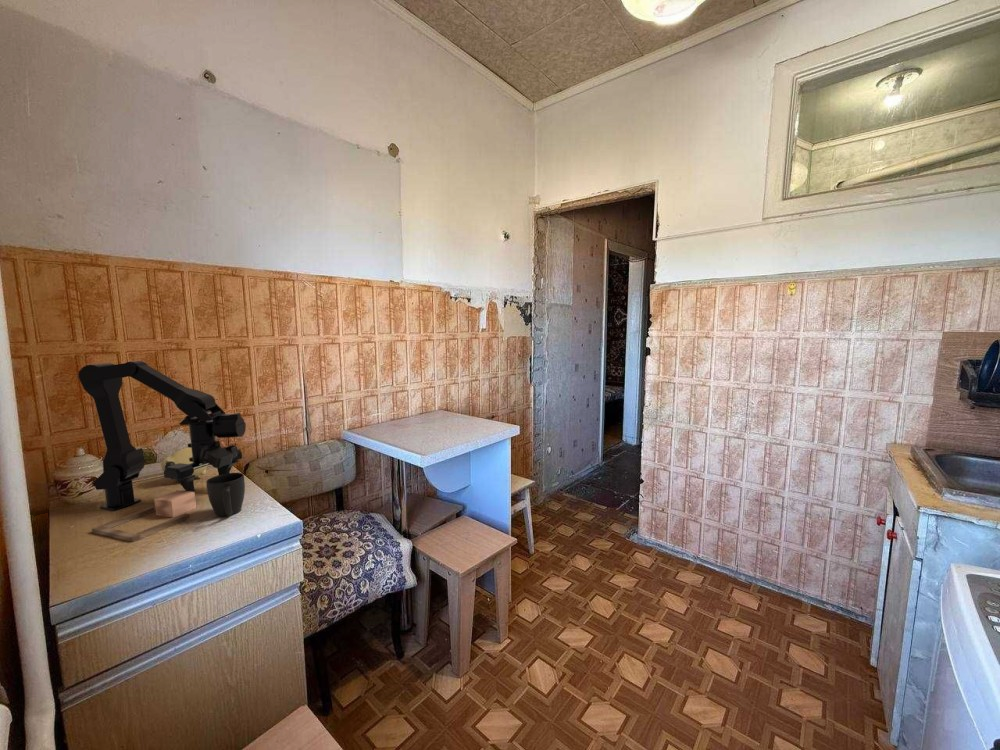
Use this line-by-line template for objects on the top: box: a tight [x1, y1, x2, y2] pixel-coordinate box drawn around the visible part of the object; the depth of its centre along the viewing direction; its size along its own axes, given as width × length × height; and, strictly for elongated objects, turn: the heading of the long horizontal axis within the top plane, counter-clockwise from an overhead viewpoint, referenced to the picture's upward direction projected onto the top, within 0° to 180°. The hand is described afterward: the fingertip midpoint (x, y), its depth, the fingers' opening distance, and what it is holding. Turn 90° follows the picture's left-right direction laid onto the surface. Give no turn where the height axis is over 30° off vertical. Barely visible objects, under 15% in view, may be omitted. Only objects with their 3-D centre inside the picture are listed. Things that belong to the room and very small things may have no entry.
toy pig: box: [160, 446, 209, 478], centre depth 131 cm, size 10×12×11 cm
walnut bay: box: [91, 506, 191, 543], centre depth 101 cm, size 15×12×1 cm
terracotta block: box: [154, 489, 197, 519], centre depth 108 cm, size 6×6×4 cm
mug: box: [205, 472, 246, 518], centre depth 105 cm, size 8×12×10 cm
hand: (208, 491), depth 116 cm, fingers open, 9 cm apart
